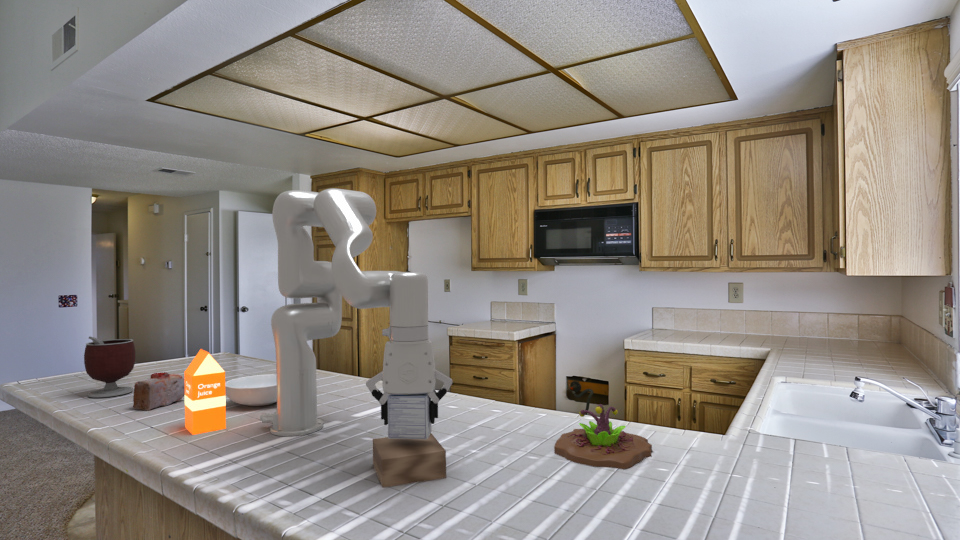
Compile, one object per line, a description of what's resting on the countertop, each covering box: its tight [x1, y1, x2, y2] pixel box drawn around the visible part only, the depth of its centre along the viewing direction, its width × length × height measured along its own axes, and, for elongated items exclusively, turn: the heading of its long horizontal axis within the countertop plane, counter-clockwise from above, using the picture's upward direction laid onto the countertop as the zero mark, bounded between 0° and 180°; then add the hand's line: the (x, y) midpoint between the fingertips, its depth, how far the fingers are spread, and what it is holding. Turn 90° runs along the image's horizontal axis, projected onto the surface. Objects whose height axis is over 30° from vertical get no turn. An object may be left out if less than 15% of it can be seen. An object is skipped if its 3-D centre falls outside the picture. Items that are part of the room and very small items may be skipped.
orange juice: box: [183, 348, 227, 436], centre depth 130 cm, size 8×9×20 cm
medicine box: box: [387, 394, 433, 439], centre depth 100 cm, size 8×4×9 cm, turn 84°
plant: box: [553, 403, 653, 470], centre depth 110 cm, size 20×20×11 cm
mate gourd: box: [83, 336, 136, 398], centre depth 169 cm, size 16×14×20 cm
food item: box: [132, 372, 185, 411], centre depth 154 cm, size 14×8×10 cm, turn 168°
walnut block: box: [372, 432, 447, 488], centre depth 99 cm, size 12×12×6 cm
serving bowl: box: [225, 373, 277, 407], centre depth 155 cm, size 21×21×7 cm
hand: (409, 422), depth 100 cm, fingers closed on medicine box, 8 cm apart
